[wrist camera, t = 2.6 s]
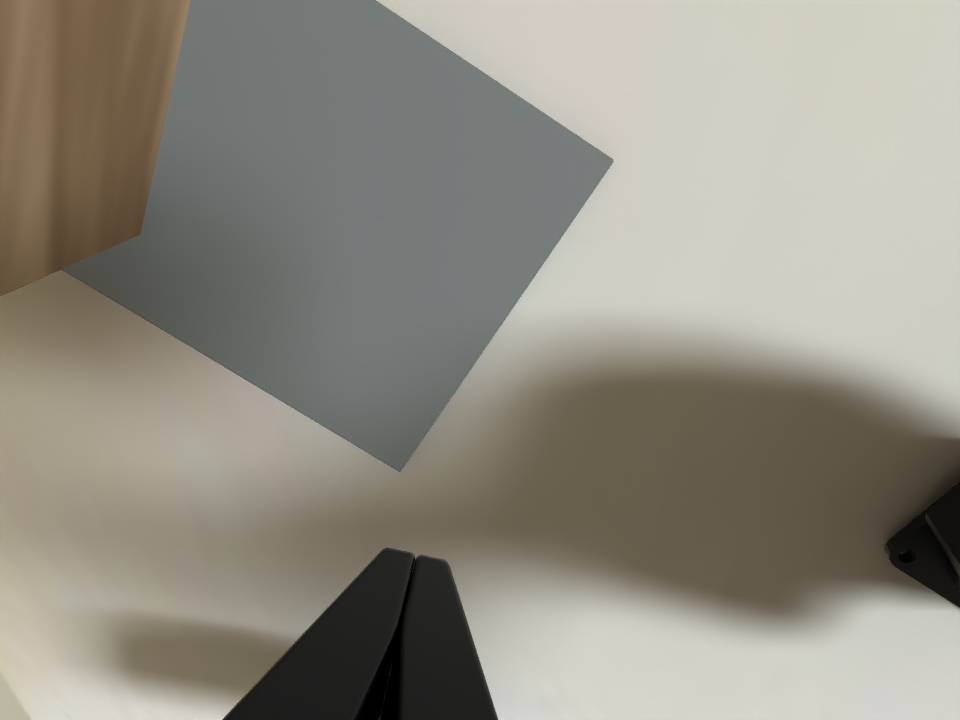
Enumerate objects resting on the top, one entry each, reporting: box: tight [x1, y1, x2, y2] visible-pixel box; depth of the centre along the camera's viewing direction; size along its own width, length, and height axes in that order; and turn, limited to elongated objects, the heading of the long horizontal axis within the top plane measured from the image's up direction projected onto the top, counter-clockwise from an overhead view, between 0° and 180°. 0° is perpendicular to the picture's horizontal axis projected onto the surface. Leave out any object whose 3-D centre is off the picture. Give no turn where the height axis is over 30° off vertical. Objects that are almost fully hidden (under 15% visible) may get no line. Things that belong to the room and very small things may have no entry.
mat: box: [62, 0, 613, 472], centre depth 20 cm, size 13×12×1 cm
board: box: [0, 0, 191, 296], centre depth 15 cm, size 2×8×9 cm, turn 156°
